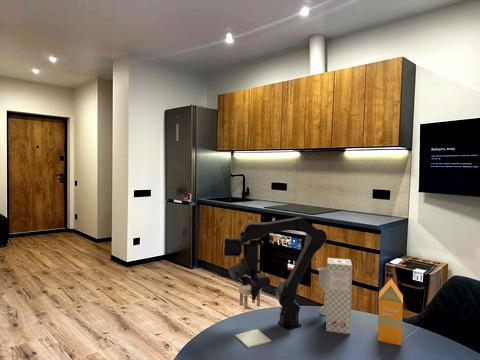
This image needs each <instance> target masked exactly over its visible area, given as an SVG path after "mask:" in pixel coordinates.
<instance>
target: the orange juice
mask: <svg viewBox="0 0 480 360" xmlns="http://www.w3.org/2000/svg"><path fill="white" fill-rule="evenodd" d="M378 294H379V295H378V305H377V306H378V315H377V341H379V342H383V343H388V344H393V345H397V346H402V339H403V306H404V300H403V299H404V298H403V297H404V296H403V294H402V292H401V291H400V290H399V288H398V286H397V285H396V283H395V282H394V281H393V279H392V278H390V279H389V280H388V281H387V282H386V283H385V284H384V286H383V287H382V288H381V289H380V290H379V292H378Z"/></svg>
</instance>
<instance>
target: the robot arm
mask: <svg viewBox="0 0 480 360" xmlns="http://www.w3.org/2000/svg"><path fill="white" fill-rule="evenodd" d="M296 229H299V230H301V232H303V233H305V234H306V236H305V238H304V245H303V248H302V250H301V252H300V254H299V255H298V258H297V260H296V262H295V263H294V265H293V267H292V269H291V271H290V273H289V275H288V277H287V279H286V280H284V281H282V280H280V281H279V283H278V285H277V287H276V288H275V291H276V292H275V297H276V299H277V302H278V304H280V306H281V308H280V312H279V320H278V321H277V323H278V325H281V326H282V327H284V328H285V329H286V330H290V329H294V328H298V327H301V326H302V324H301V323H299V320H300V319H299V318H300V317H299V315H300V310H301V306H300V305H299V304H298V302H297V301H296V297H297V293H298V292H297V291H298V286H299V284H300V282H301V280H302V278H303V276H304V275H305V273H306V271H307V269H308V267H309V265H310V262H311V261H312V259H313V257H314V255H315V253H317V252H318V251H319V250H320V249H322V247H323V246H324V244H325V243H326V241H327V240H328V239H327V238H328V236H327V233H326V232H325V230H323V229H321V228H320V227H318V226H313V225H312V224H310V223H309V222H307V220H306V219H304V218H303V217H300V216H296V217H292V218H286V219H280V220H273V221H268V222H267V221H266V222H264V221H262V222H261V221H248V222H246V223H245V224H244V225H243V227H242V231H241V233H240V234H239V235H238V237H237V238H235V237H233V238H232V237H231V238H230V237H224V239H223V248H222V250H223V257H228V258H229V257H236V258H237V257H240V256H241V254H242V257H241V258H240V260H239V262H240V263H236V264H234V265H233V266H230V267H229V268H228V269H227V270H228V274H229V277H230V278H232V279H233V280H235V281H236V280H240V282H241V286H244V285H250V286H251V295H250V296H251V301H252V300H255V301H256V300H257V295H258V293H259V291H260V289H261V288H262V287H265V286H271V278H270V277H269V276H267V275H266V274H261V270H260V269H259V263H261V259H260V258H259V252H260V251H259V246H264V245H265V243H264V241H263V240H261V238H262V237H264V236H266V235H268V234H272V233H273V234H274V233H279V232H284V231H291V230H296ZM262 289H263V288H262Z"/></svg>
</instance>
